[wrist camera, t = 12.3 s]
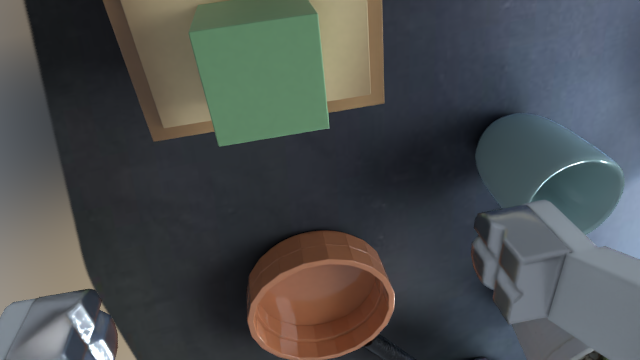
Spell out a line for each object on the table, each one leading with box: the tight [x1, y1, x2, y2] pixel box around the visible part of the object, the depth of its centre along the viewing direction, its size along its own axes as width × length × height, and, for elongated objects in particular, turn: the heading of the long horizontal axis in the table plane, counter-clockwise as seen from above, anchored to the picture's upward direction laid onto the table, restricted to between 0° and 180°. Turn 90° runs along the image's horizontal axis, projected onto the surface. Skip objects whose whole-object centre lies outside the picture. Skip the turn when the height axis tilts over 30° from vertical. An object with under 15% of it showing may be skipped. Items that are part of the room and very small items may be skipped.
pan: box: [246, 231, 394, 360], centre depth 44 cm, size 14×14×4 cm
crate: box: [103, 0, 384, 141], centre depth 25 cm, size 12×8×12 cm, turn 96°
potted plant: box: [512, 317, 609, 360], centre depth 44 cm, size 13×14×20 cm
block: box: [188, 0, 329, 146], centre depth 18 cm, size 4×4×4 cm
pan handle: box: [363, 334, 416, 360], centre depth 49 cm, size 10×2×2 cm, turn 41°
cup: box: [475, 113, 624, 235], centre depth 36 cm, size 8×8×10 cm
